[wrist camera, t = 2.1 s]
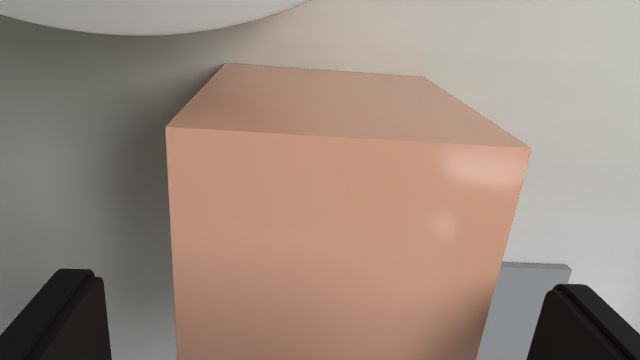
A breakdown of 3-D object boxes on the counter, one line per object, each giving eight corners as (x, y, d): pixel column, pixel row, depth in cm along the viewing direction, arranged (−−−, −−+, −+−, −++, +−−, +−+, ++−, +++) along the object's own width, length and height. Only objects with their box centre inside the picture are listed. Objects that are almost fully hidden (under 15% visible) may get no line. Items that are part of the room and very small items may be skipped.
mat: (335, 255, 19) (336, 261, 19) (566, 264, 20) (571, 269, 19) (317, 429, 23) (317, 436, 22) (512, 431, 24) (515, 438, 23)
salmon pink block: (225, 63, 16) (165, 127, 8) (424, 77, 16) (531, 148, 9) (225, 240, 18) (179, 408, 11) (396, 247, 19) (462, 411, 12)
